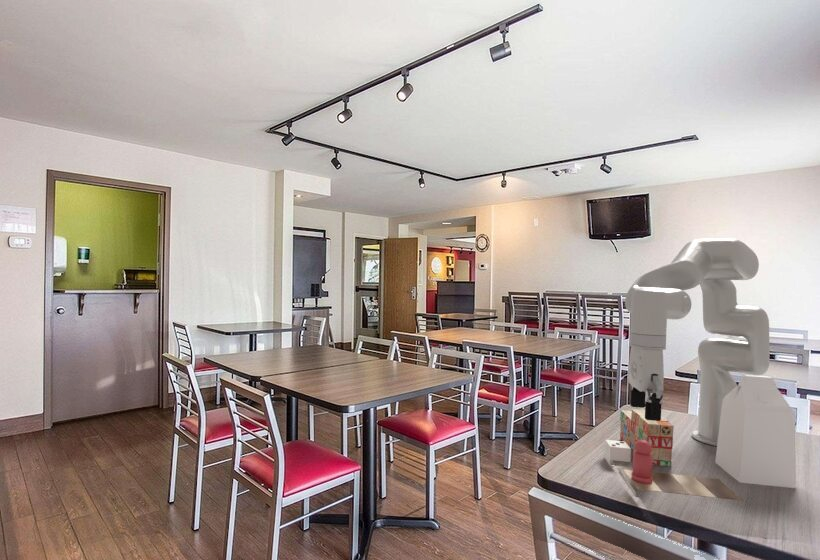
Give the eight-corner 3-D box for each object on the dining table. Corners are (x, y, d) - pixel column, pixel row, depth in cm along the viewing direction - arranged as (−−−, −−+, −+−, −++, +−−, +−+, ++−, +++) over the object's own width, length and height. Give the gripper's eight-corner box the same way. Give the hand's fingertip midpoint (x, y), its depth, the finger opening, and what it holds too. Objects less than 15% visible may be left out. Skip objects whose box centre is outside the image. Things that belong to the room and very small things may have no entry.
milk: (765, 472, 115) (770, 372, 114) (796, 494, 103) (801, 383, 103) (714, 467, 117) (719, 369, 116) (739, 488, 105) (744, 379, 105)
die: (624, 459, 120) (624, 441, 120) (630, 467, 115) (630, 448, 115) (604, 457, 121) (605, 439, 121) (609, 465, 116) (610, 446, 116)
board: (719, 483, 108) (719, 477, 108) (748, 508, 96) (749, 502, 96) (619, 473, 111) (619, 467, 111) (635, 496, 99) (635, 490, 99)
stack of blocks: (619, 440, 135) (620, 399, 135) (641, 441, 134) (642, 401, 134) (645, 470, 114) (647, 422, 114) (671, 473, 113) (674, 425, 113)
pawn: (648, 476, 107) (650, 437, 106) (655, 485, 102) (657, 444, 102) (628, 474, 107) (630, 436, 107) (635, 483, 103) (636, 442, 103)
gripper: (619, 335, 113) (617, 401, 114) (643, 346, 96) (640, 424, 97) (650, 336, 112) (648, 403, 113) (681, 348, 95) (678, 427, 96)
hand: (644, 413), depth 105 cm, fingers open, 9 cm apart
